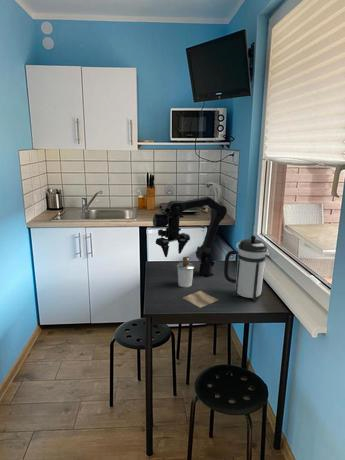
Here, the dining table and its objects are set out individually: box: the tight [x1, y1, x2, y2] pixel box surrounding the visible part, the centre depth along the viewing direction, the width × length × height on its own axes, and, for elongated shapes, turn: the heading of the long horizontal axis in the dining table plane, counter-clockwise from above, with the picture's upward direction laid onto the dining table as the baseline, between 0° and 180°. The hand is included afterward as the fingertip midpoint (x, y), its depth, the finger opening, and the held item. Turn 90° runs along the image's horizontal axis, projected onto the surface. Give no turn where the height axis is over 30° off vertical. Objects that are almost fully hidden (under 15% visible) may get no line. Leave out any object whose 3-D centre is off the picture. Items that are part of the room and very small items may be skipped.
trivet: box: [182, 290, 219, 309], centre depth 152 cm, size 12×12×1 cm
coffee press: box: [223, 234, 270, 303], centre depth 154 cm, size 17×16×30 cm
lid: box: [176, 256, 196, 270], centre depth 164 cm, size 9×9×5 cm
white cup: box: [177, 268, 194, 288], centre depth 166 cm, size 8×8×10 cm
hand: (172, 255), depth 171 cm, fingers open, 9 cm apart
